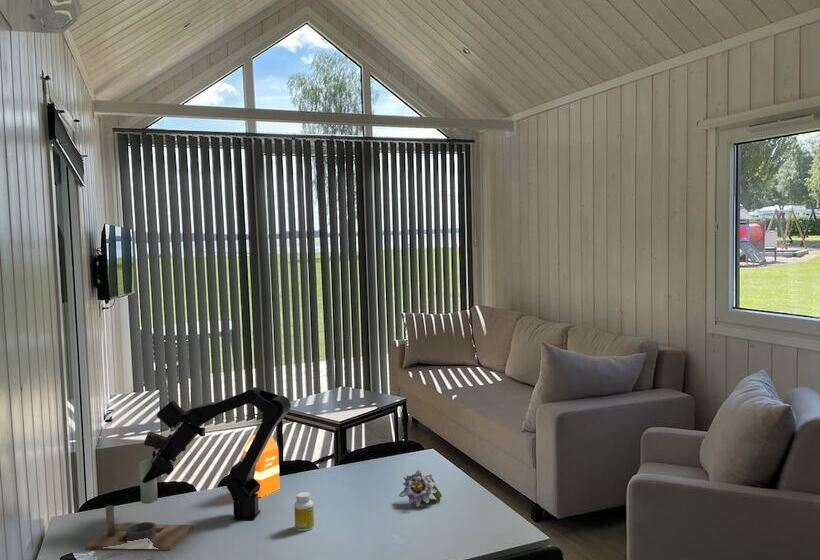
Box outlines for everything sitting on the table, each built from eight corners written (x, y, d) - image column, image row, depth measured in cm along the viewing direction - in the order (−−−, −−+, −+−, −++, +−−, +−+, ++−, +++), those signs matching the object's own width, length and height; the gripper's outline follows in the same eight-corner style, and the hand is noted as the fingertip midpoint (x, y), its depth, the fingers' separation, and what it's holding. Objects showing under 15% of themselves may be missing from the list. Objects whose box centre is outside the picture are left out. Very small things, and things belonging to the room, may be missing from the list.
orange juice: (280, 489, 213) (278, 431, 213) (261, 498, 206) (258, 437, 205) (263, 486, 218) (261, 428, 217) (244, 494, 210) (241, 434, 210)
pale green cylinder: (160, 497, 193) (158, 458, 192) (152, 503, 188) (151, 463, 188) (145, 497, 193) (144, 459, 193) (138, 503, 189) (136, 463, 188)
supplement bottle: (310, 532, 179) (308, 498, 178) (292, 531, 180) (291, 497, 179) (316, 524, 184) (315, 491, 184) (299, 523, 185) (298, 490, 185)
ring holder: (193, 528, 184) (191, 497, 184) (170, 550, 170) (168, 517, 170) (114, 527, 186) (113, 497, 186) (86, 549, 172) (84, 516, 172)
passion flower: (418, 523, 195) (395, 496, 193) (416, 504, 206) (394, 477, 203) (448, 503, 194) (425, 475, 192) (444, 484, 205) (423, 458, 202)
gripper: (160, 415, 200) (124, 454, 197) (159, 429, 183) (119, 473, 179) (188, 437, 203) (152, 476, 200) (189, 453, 186) (150, 496, 182)
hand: (143, 479), depth 190 cm, fingers closed on pale green cylinder, 5 cm apart
